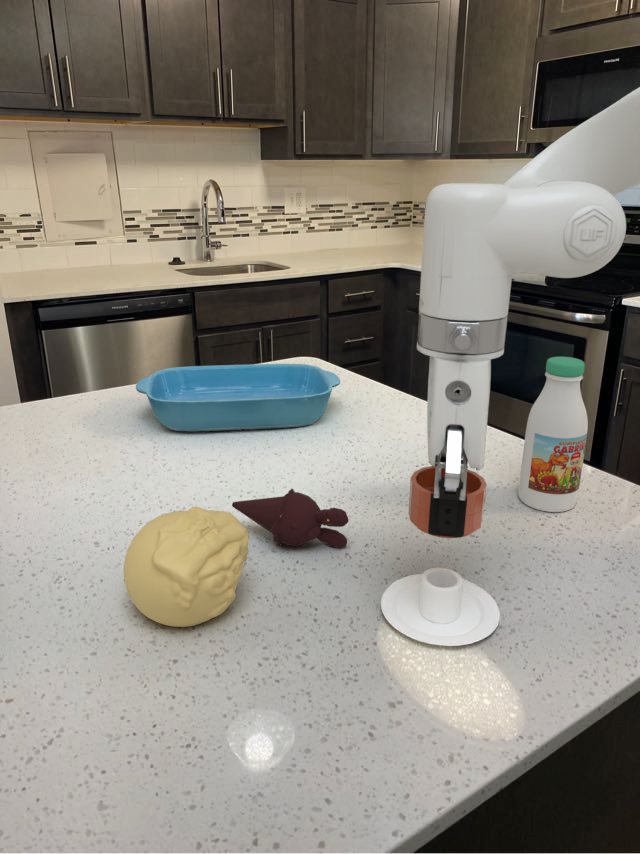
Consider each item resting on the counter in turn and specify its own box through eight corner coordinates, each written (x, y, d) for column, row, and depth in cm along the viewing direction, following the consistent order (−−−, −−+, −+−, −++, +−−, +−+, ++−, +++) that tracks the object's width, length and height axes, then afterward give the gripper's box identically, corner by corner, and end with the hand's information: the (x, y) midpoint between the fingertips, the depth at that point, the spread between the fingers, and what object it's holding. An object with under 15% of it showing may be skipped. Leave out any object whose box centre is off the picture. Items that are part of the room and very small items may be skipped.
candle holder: (384, 574, 75) (385, 541, 73) (493, 584, 73) (497, 550, 71) (376, 645, 64) (378, 607, 62) (505, 658, 62) (509, 619, 60)
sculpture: (199, 658, 62) (191, 558, 58) (105, 618, 67) (93, 525, 63) (267, 594, 71) (264, 505, 67) (180, 564, 77) (173, 479, 73)
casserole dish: (328, 391, 136) (328, 358, 134) (350, 431, 116) (351, 392, 113) (144, 401, 131) (141, 366, 128) (133, 443, 110) (129, 403, 108)
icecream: (216, 502, 77) (339, 532, 73) (242, 464, 83) (357, 490, 79) (221, 544, 81) (338, 574, 78) (246, 504, 87) (355, 531, 83)
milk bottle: (506, 499, 92) (522, 359, 85) (536, 483, 97) (554, 349, 89) (557, 519, 86) (579, 372, 79) (586, 501, 91) (609, 360, 84)
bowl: (473, 505, 68) (477, 465, 66) (489, 541, 61) (494, 497, 60) (404, 505, 68) (406, 465, 66) (413, 540, 61) (416, 497, 60)
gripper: (514, 362, 49) (490, 567, 56) (498, 315, 65) (481, 479, 72) (412, 357, 50) (401, 558, 57) (421, 312, 66) (411, 473, 73)
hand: (445, 512), depth 64 cm, fingers closed on bowl, 7 cm apart
